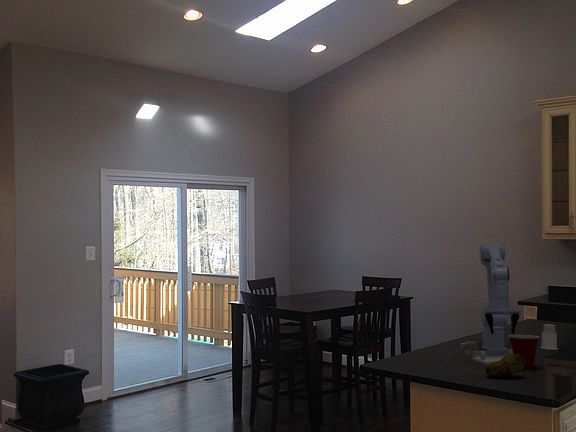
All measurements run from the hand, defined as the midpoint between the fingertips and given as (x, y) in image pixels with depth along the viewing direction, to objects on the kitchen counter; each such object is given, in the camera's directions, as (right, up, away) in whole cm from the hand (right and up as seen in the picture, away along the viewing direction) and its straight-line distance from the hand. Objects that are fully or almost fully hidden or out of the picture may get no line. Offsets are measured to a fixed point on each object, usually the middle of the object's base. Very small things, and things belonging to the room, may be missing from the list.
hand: (502, 333), depth 245 cm
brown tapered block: (-10, -11, +10) cm, 18 cm away
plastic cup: (+3, -10, -14) cm, 17 cm away
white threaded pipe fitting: (+27, -11, +23) cm, 37 cm away
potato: (-8, -10, -27) cm, 30 cm away
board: (-1, -10, +1) cm, 10 cm away
